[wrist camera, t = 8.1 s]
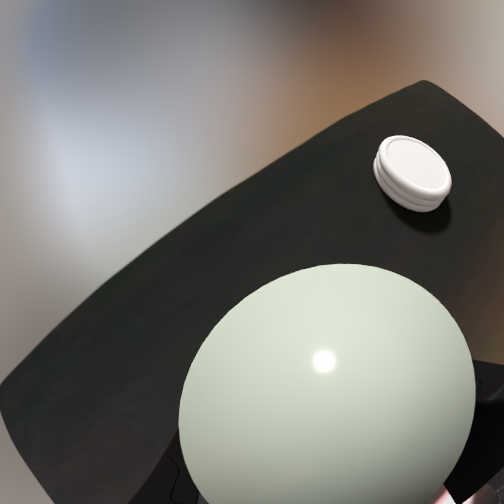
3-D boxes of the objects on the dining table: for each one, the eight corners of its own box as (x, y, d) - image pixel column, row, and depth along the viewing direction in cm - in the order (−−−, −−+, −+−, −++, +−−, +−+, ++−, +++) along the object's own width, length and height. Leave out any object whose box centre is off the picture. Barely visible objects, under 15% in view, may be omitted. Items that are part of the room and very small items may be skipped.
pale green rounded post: (297, 450, 12) (363, 571, 2) (226, 402, 14) (119, 439, 3) (348, 381, 14) (504, 349, 3) (278, 335, 16) (305, 213, 5)
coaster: (365, 148, 32) (371, 128, 29) (427, 158, 31) (436, 141, 28) (381, 210, 28) (392, 190, 24) (450, 217, 27) (463, 201, 24)
